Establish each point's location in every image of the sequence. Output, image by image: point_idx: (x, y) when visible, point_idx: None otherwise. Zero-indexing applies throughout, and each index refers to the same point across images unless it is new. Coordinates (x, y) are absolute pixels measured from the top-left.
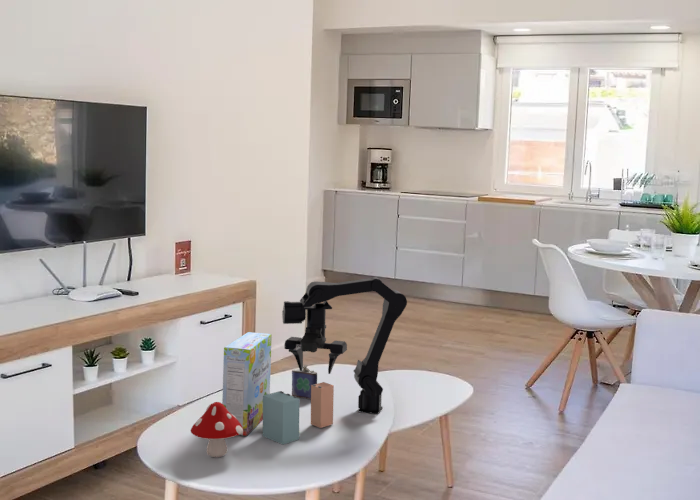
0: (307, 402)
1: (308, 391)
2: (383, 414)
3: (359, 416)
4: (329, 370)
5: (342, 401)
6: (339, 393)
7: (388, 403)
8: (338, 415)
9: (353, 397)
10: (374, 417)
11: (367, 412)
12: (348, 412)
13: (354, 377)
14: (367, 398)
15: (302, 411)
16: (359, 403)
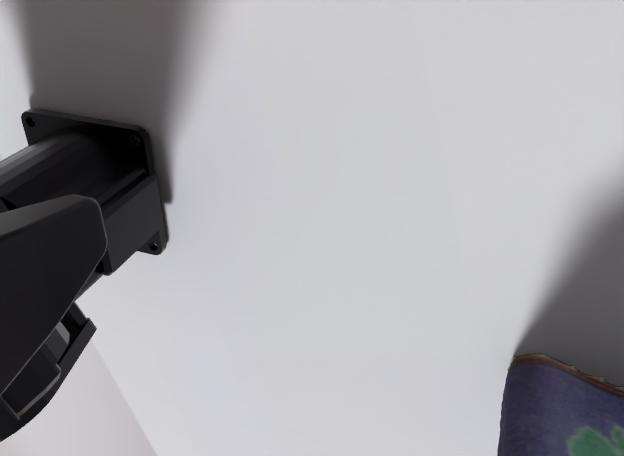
0: (579, 298)
1: (581, 419)
2: (6, 116)
3: (108, 38)
4: (15, 214)
5: (317, 325)
6: (375, 452)
7: None
8: (252, 22)
9: (276, 389)
10: (20, 42)
11: (86, 119)
12: (208, 113)
13: (58, 369)
14: (19, 172)
15: (607, 57)
16: (127, 188)
